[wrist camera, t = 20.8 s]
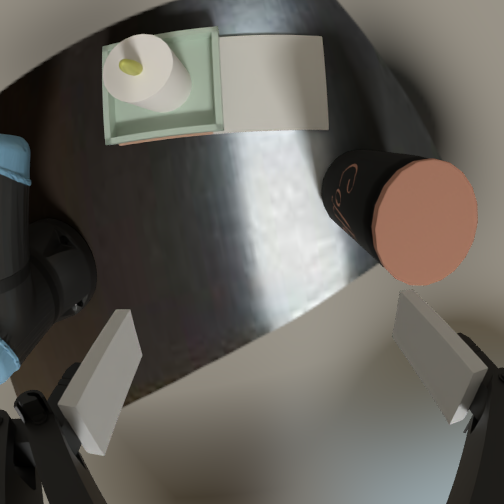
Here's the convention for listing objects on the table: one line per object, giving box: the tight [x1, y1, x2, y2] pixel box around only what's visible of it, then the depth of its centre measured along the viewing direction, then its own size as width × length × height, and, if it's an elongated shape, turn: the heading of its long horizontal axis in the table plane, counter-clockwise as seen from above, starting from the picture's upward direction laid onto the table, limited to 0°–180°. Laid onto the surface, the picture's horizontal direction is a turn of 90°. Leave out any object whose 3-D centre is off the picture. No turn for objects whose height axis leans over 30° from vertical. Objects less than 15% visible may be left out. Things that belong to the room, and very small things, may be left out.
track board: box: [119, 35, 329, 146], centre depth 34 cm, size 26×13×1 cm, turn 93°
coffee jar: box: [322, 149, 478, 285], centre depth 31 cm, size 11×11×18 cm
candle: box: [103, 34, 192, 113], centre depth 24 cm, size 6×6×15 cm
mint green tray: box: [102, 26, 224, 145], centre depth 32 cm, size 13×12×4 cm
